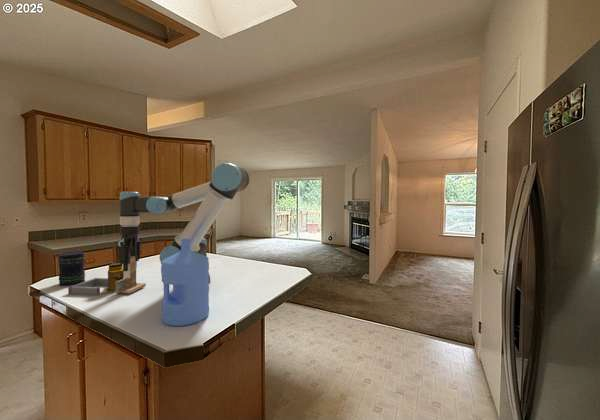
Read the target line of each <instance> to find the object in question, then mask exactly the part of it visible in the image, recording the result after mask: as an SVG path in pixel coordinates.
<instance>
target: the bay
mask: <svg viewBox="0 0 600 420" xmlns="http://www.w3.org/2000/svg"><path fill="white" fill-rule="evenodd" d="M99 286H108V277H94V278H92V279H91V278H90V279H88V280H85V282H82V283H79V284H76V285H72V286H67V287H68V288H67V289H68V295H83V296H84V295H86V296H99V295H101V287H99Z"/></svg>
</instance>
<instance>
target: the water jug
mask: <svg viewBox="0 0 600 420" xmlns="http://www.w3.org/2000/svg"><path fill="white" fill-rule="evenodd" d="M190 245H191V244H190V239H181V251H180V252H178V253H176V254H174V255H172V256H170V257H168V258H166V259H164V260H163V261H162V265H161V267H160V272H161V282H162V283H163V298H162V300H161V321H162V323H164V324H165V325H167V326H171V327H185V326H189V325H190V326H191V325H194V324H196V323H197V324H198V322H201V321H203V320H205V318H207V317H208V315H209V314H210V305H209V304H210V303H209V301H210V299H209V298H210V297H209V294H210V283H209V275H210V272H209V270H210V261H209V257H208V256H204V255H202V254H199V253H196V252H194V251H191V249H190ZM170 285H171V286H172V292H171V293H170Z"/></svg>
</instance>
